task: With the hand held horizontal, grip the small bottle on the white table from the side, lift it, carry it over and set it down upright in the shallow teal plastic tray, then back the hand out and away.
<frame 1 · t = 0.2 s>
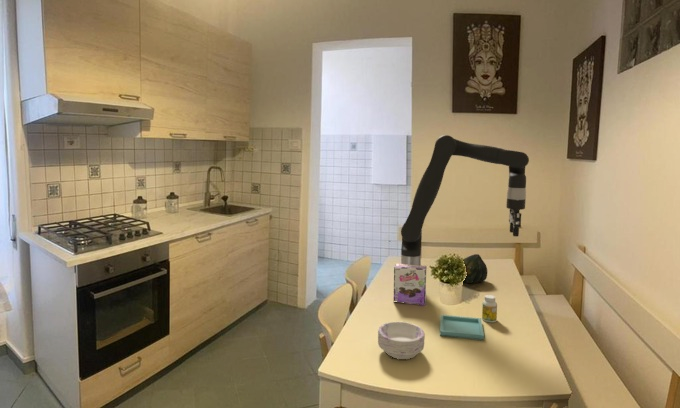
hand: (513, 234, 180), 29 cm above the table, tool pointing down, fingers open, 8 cm apart
squash: (471, 281, 207), on the table
teal tray: (461, 329, 153), on the table
supplement bottle: (489, 320, 161), on the table
candy box: (409, 302, 180), on the table
paper bowls: (400, 353, 136), on the table
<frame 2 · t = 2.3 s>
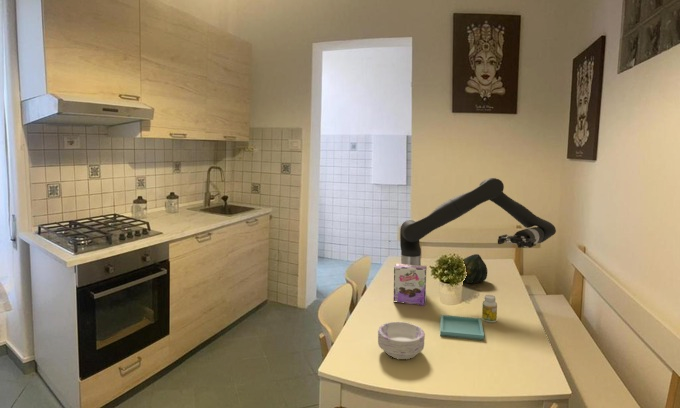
hand: (508, 243, 169), 28 cm above the table, tool horizontal, fingers open, 8 cm apart
nothing on the table moved.
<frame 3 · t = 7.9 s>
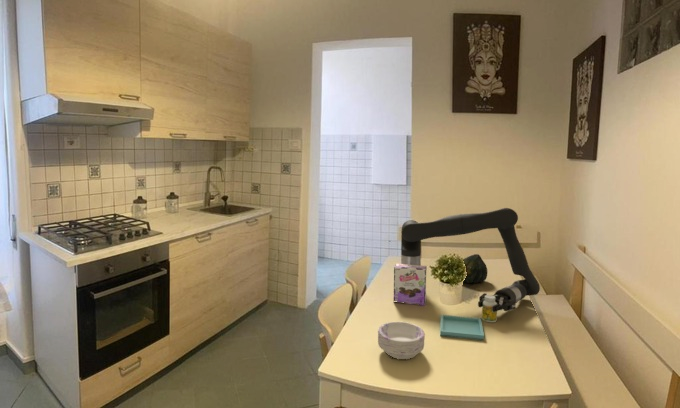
hand: (486, 306, 158), 6 cm above the table, tool horizontal, fingers closed on supplement bottle, 5 cm apart
supplement bottle: (489, 320, 161), on the table, touching gripper
everything else where it was.
when the fingers open (8 cm above the table, at t = 14.3 s): supplement bottle drops 1 cm, resting on teal tray.
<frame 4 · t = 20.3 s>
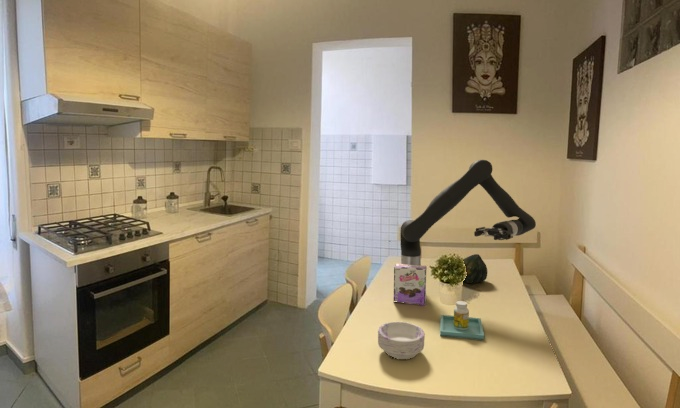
hand: (484, 235, 165), 32 cm above the table, tool horizontal, fingers open, 8 cm apart
supplement bottle: (460, 327, 153), resting on teal tray
everything else where it was.
at the end: supplement bottle inside the target area on the teal tray (0.2 cm from its centre), point 0.4 cm above the teal tray's base; supplement bottle tilted 0°; the gripper is holding nothing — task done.
